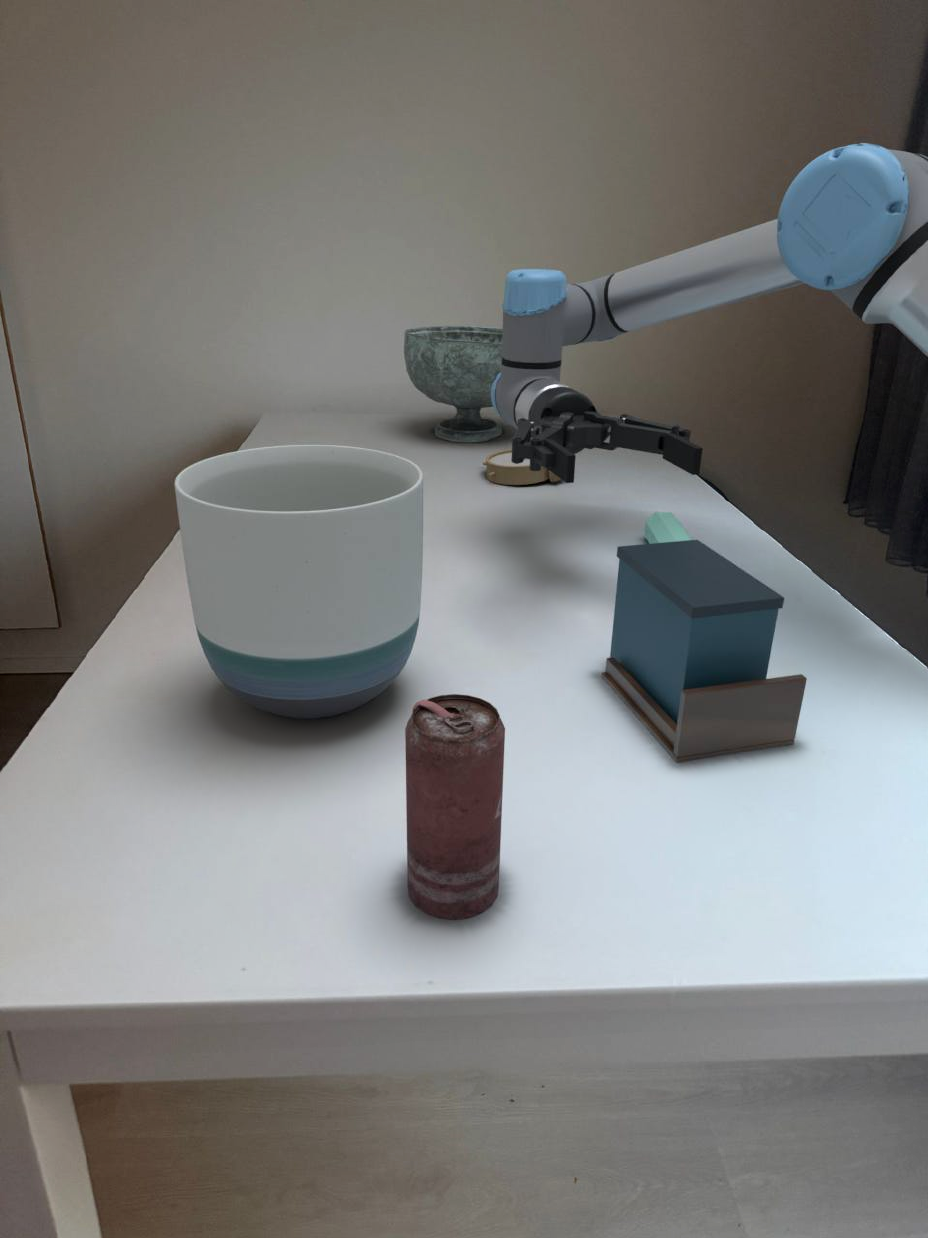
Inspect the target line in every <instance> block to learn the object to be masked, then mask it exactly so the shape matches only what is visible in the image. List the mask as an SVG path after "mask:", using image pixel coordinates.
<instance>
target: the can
mask: <svg viewBox="0 0 928 1238" xmlns="http://www.w3.org/2000/svg"><path fill="white" fill-rule="evenodd" d="M404 730H405V731H404V734H405V735H404V736H405V738H404V739H405V742H404V743H405V801H406V803H405V804H406V805H405V806H406V809H405V811H406V863H407V865H406V872H407V873H406V876H407V878H406V879H407V881H406V883H407V892H408V897H409V898H410V900H411V901H412V903H413V904H414V906H415V907H416V908H417V909H419V910H421V912H424V913H425V914H426V915H429V916H432V917H434V918H438V919H443V920H453V921H457V920H465V919H470V918H472V917H475V916H478V915H480V914H482V913H483V912H485V911H486V910H488V909H489V908H490V907H492V906H493V904H494V903H495V900H496V899H497V898H498V896H499V887H500V868H501V867H500V866H501V864H500V863H501V844H502V843H501V840H502V839H501V838H502V818H503V817H502V816H503V813H502V812H503V791H504V790H503V789H504V769H505V768H504V767H505V766H504V764H505V742H506V727H505V725H504V722H503V720H502V718H501V715H500V712H499V711H498V709H497V708H496V707H495V706H494V705H493V704H492V703H491V702H489V701H487V700H485V699H483V698H482V697H481V698H480V697H477V696H474V695H473V696H472V695H468V694H460V693H459V694H458V693H450V694H441V695H437V696H432V697H429V698H427V699H425V698H423V699H420V700H419V701H416V702H415V704H414V705H413V707H412V712H411V714H410V717H409V718H408V720H407V723H406V726H405V729H404Z"/></svg>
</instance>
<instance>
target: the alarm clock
mask: <svg viewBox="0 0 928 1238" xmlns="http://www.w3.org/2000/svg"><path fill="white" fill-rule="evenodd" d="M511 459H512V448H511V449H510V448H509V449H504V450H500V451H495V452H493V453H490V454H489V455H487V456H486V457H485V461H483V462H482V465H483V466H486V479H487V480H489V481H490V482H492V483H495V484H500V485H506V486H521V485H523V486H524V485H531V484H537V483H541V482H545V481H547V480H549V481H550V482H551V483H558V482H559V481H561V479H560V478H559V477H558V476H556V475H555V474H554V473H552V472H551V471H550V470H548V469H547V468H545V467H542V466H541V470H540V471H531V470H530V469H529V468H530V459H524V461H523V462H522V463H519V464H516V463H513V462H511Z"/></svg>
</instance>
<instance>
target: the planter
mask: <svg viewBox="0 0 928 1238" xmlns="http://www.w3.org/2000/svg"><path fill="white" fill-rule="evenodd" d="M174 491H175V492H174V493H175V500H176V508H177V515H178V516H177V517H178V523H179V531H180V538H181V539H180V541H181V547H182V553H183V561H184V567H185V575H186V581H187V587H188V593H189V598H190V604H191V609H192V615H193V622H194V625H195V629H196V633H197V637H198V640H199V643H200V646H201V649H202V651H203V654H204V656H205V658H206V659H207V662H208V665H209V667H210V668H211V670H212V672H213V673H214V674H215V676H216V677H217V679H218V680H219V681H220V682H221V683H222V684H223V685H224V687H225V688H226V689H228V690H229V691H230V692H231V693H233V694H234V695H235V696H237V697H238V698H239V699H240V700H242V701H244V702H245V703H247V704H249V705H250V706H253V707H255V708H258V709H260V710H262V711H265V712H267V713H270V714H273V715H277V716H279V717H286V718H292V719H321V718H328V717H332V716H337V715H341V714H344V713H347V712H350V711H352V710H354V709H357V708H359V707H362V706H363V705H365V704H366V703H368V702H370V701H371V700H372V699H374V698H376V697H377V696H378V695H380V694H381V693H382V692H384V691H385V690H386V689H387V688H388V687H389V686H390V685H392V683H393V682H394V681H395V680H396V679H397V678H398V677H399V675H400V674H401V672H402V671H403V669H404V668H405V666H406V665H407V662H408V660H409V658H410V656H411V654H412V651H413V647H414V644H415V641H416V637H417V634H418V630H419V626H420V625H419V624H420V614H421V606H422V605H421V603H422V587H423V586H422V585H423V567H424V566H423V563H424V562H423V560H424V559H423V557H424V473H423V471H422V469H421V468H420V467H419V465H417V464H416V463H414V462H413V461H411V460H409V459H407V458H404V457H402V456H400V455H396V454H393V453H390V452H387V451H386V452H385V451H382V450H378V449H377V450H376V449H371V448H364V447H358V446H357V447H356V446H349V445H331V444H289V445H288V444H287V445H275V446H264V447H256V448H249V449H243V450H236V451H231V452H226V453H222V454H219V455H215V456H212V457H208V458H205V459H201V460H200V461H197V462H195V463H192V464H191V465H189V466H187V467H186V468H184V469H183V470H181V472H179V473H178V475H177V476H176V477H175V480H174Z"/></svg>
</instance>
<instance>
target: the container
mask: <svg viewBox="0 0 928 1238" xmlns="http://www.w3.org/2000/svg"><path fill="white" fill-rule="evenodd" d="M644 523H645V524H644V532H643V535H644V537H645V539H646V540H647V542H648V544H653V543H664V542H676V541H687V540H694V539H693V538H692V537H691V535H690V534H689V533H688V532H687V530H686V528H685V527H684V526H683V524H682V523H681V521H680V520H679V519H678V518H677V517H676V516H675V515H674V514H673V513H672V512H671V511H655V512H654V514H652V515H651V516H650V517H649V518H648V519H647V520H646V521H645V522H644Z"/></svg>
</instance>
